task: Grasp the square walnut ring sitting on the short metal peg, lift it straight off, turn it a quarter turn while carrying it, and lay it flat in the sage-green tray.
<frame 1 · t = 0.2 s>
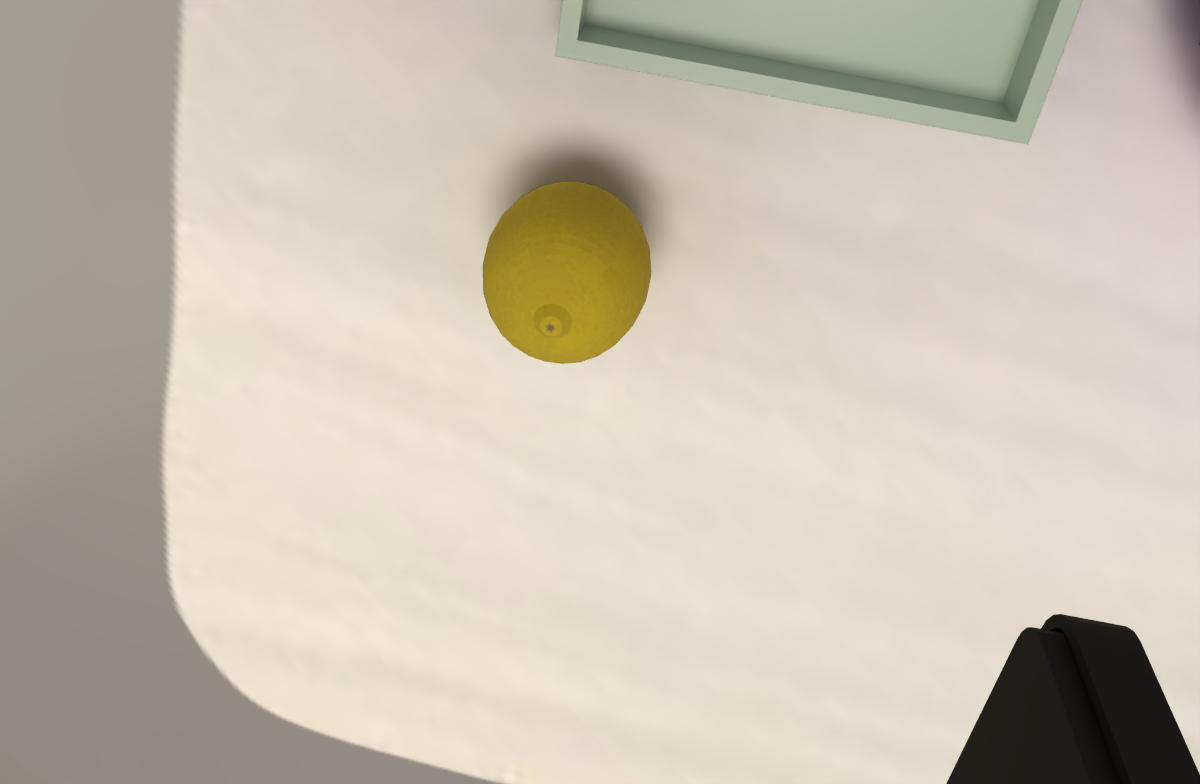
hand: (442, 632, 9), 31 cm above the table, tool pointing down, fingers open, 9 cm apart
lemon: (581, 221, 40), on the table
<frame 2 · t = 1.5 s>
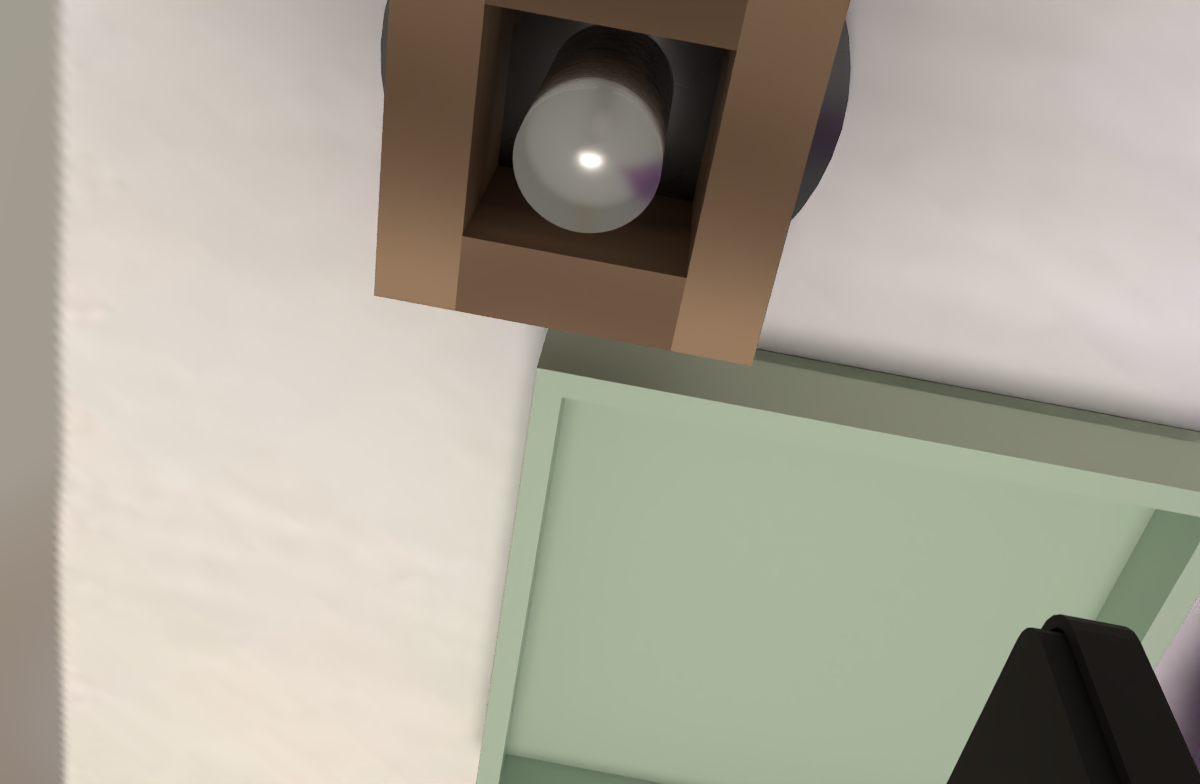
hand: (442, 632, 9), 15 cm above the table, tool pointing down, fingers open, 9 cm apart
tray: (798, 614, 29), on the table
ring: (611, 86, 21), point 1 cm above the table, touching peg on round base
peg on round base: (614, 74, 22), on the table
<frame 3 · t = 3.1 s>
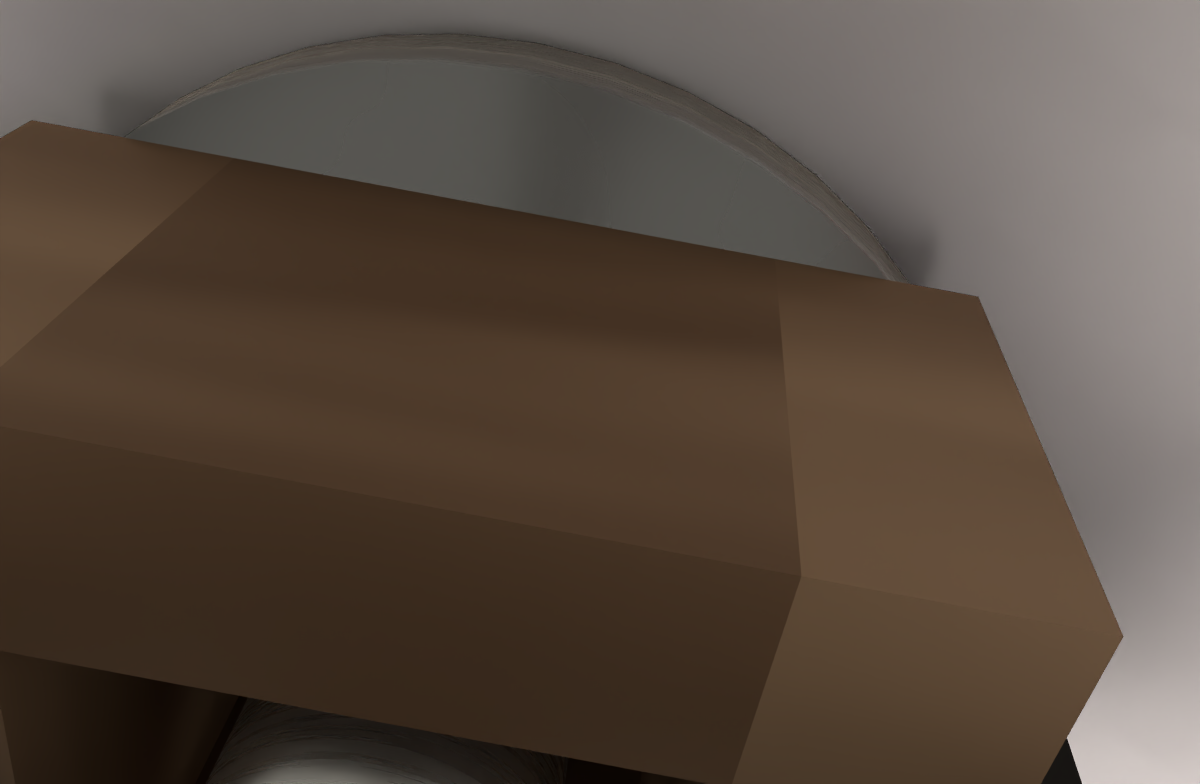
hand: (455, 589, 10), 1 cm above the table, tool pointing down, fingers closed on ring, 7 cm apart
ring: (461, 570, 10), point 1 cm above the table, touching gripper, peg on round base
peg on round base: (478, 515, 11), on the table
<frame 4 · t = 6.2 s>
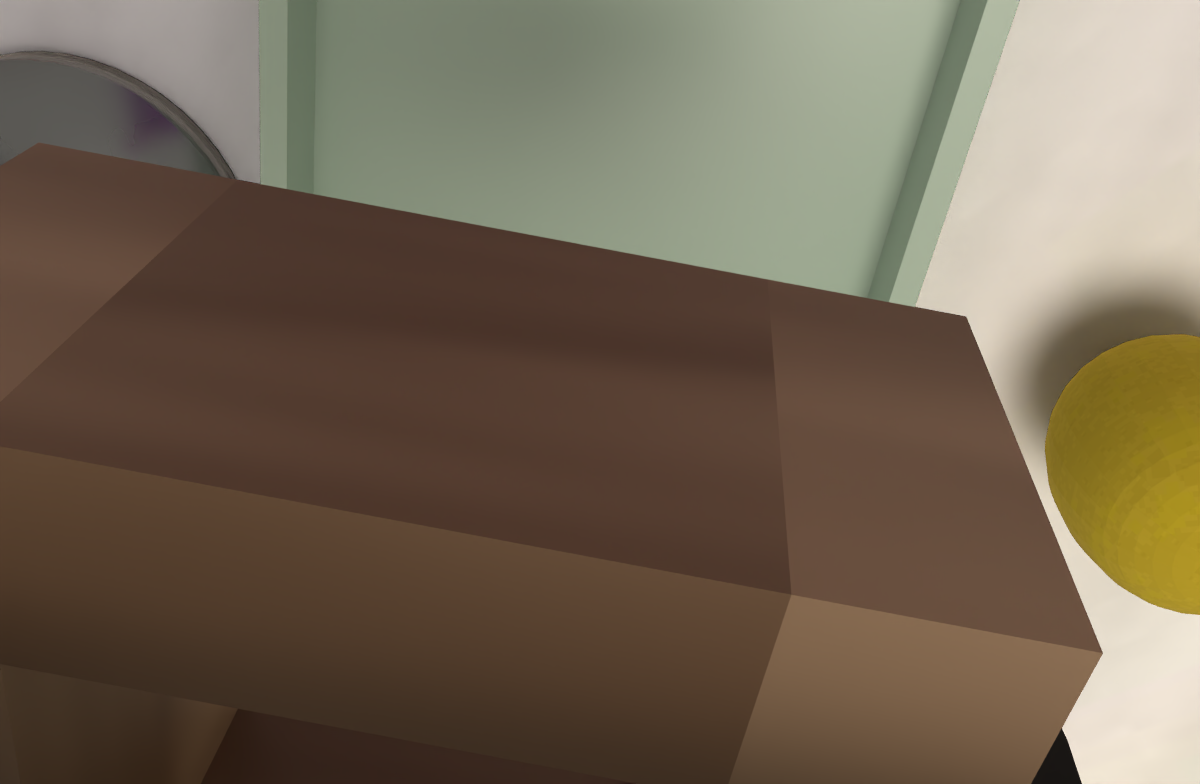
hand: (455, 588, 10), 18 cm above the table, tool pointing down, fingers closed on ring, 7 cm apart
tray: (624, 45, 25), on the table
ring: (459, 582, 10), point 18 cm above the table, touching gripper
peg on round base: (85, 227, 29), on the table
lemon: (1123, 373, 29), on the table
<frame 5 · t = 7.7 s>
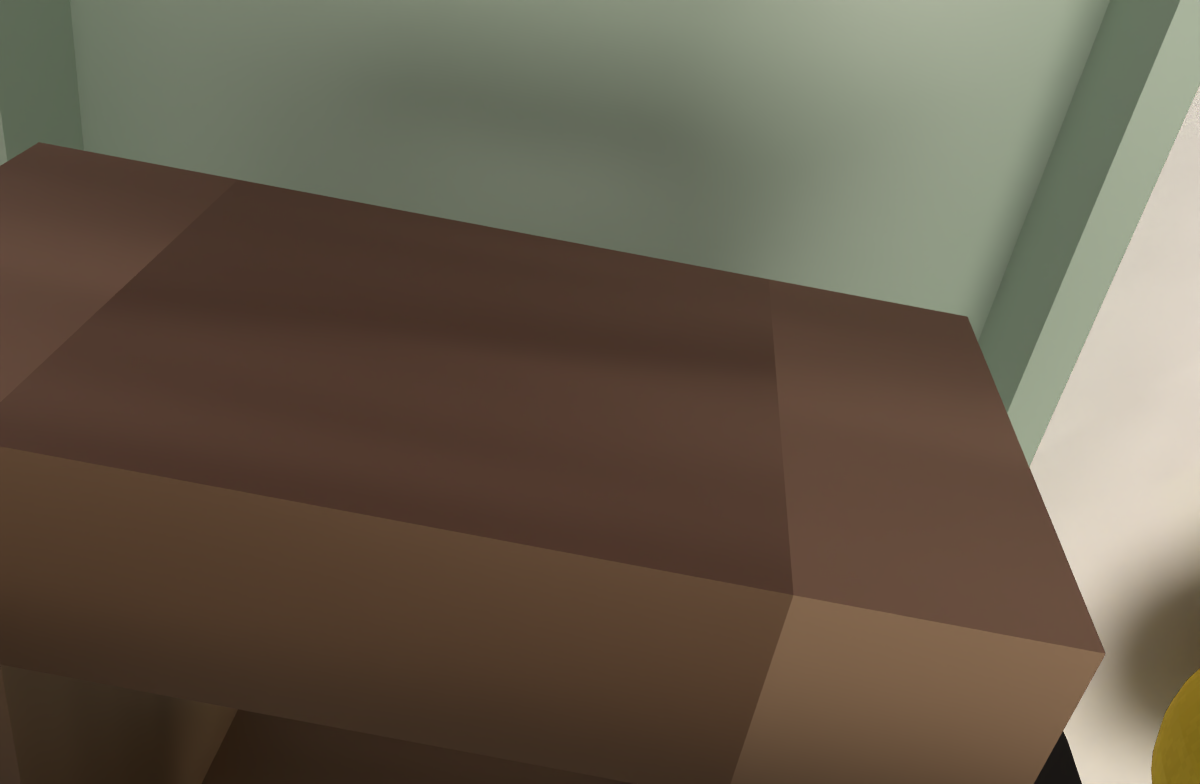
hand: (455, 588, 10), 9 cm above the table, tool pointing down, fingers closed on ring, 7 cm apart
tray: (543, 214, 17), on the table
ring: (459, 582, 10), point 8 cm above the table, touching gripper
when the fingers open (3 cm above the table, at t = 9.2 s): ring drops 2 cm, resting on tray.
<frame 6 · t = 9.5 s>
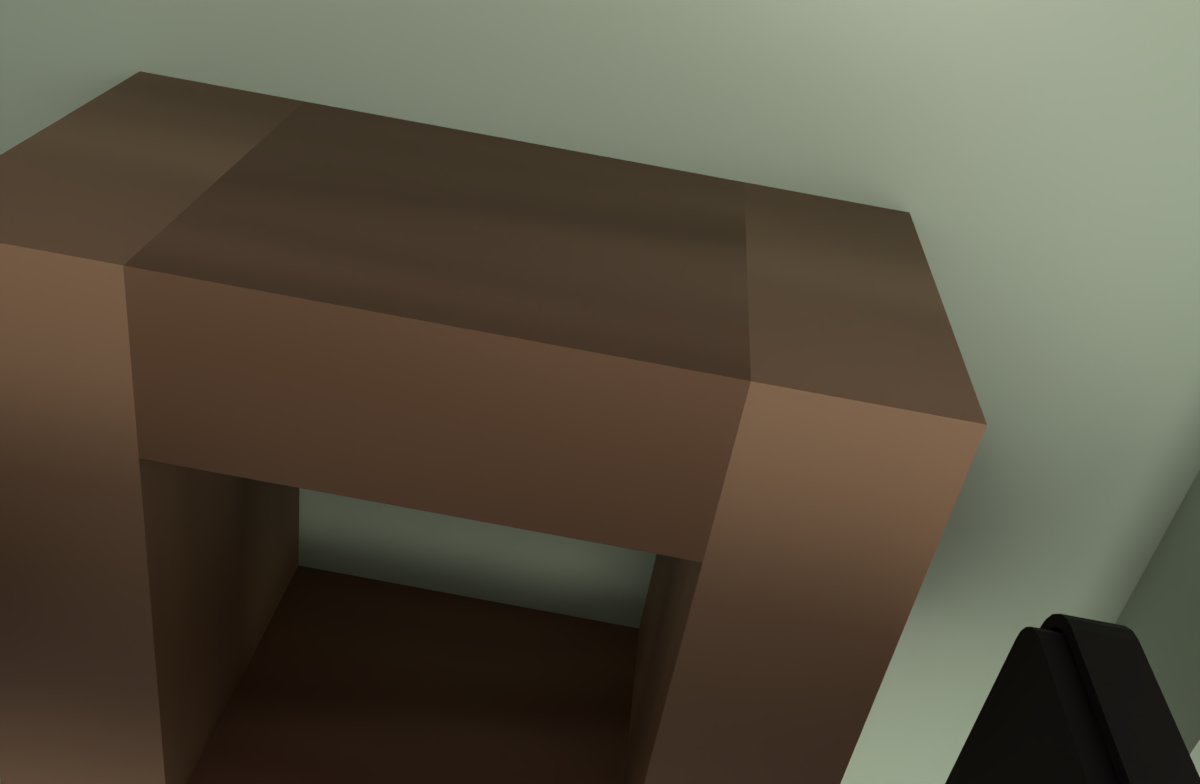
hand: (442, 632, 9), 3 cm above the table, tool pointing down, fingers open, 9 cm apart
tray: (508, 420, 12), on the table
ring: (485, 457, 12), resting on tray
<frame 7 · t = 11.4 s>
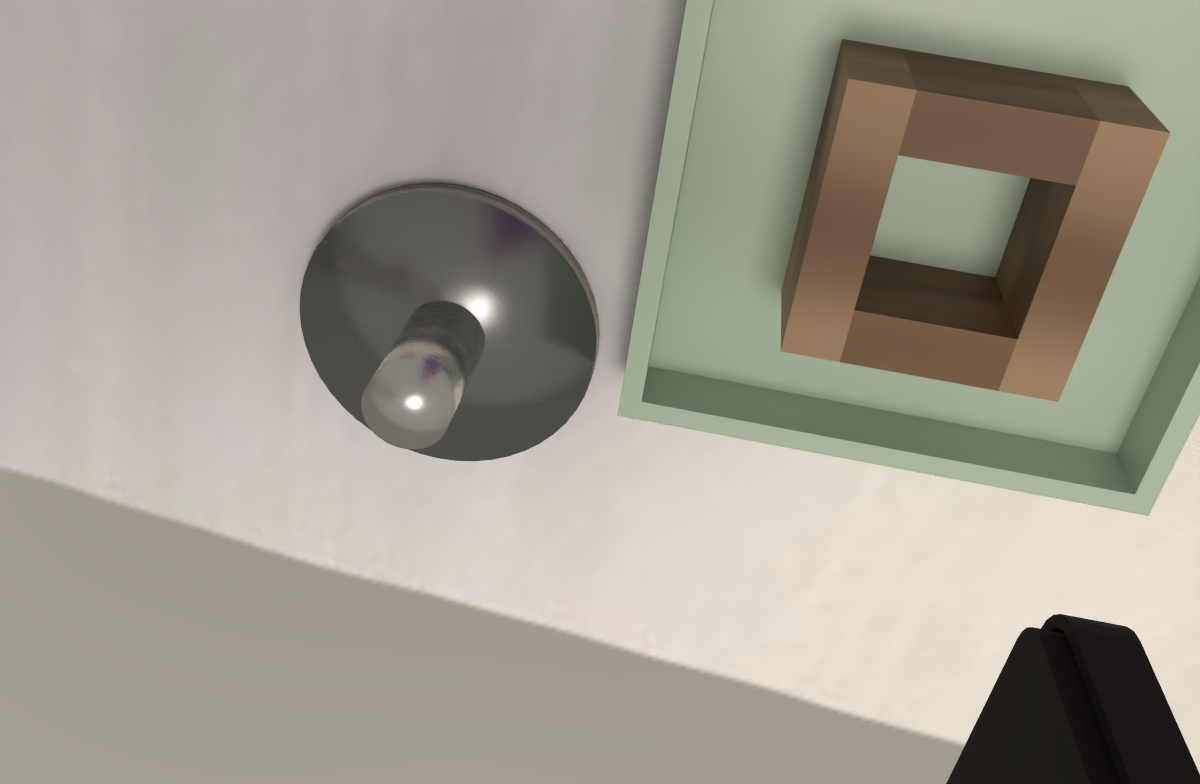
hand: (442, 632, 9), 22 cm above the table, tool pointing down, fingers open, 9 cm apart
tray: (947, 183, 29), on the table
ring: (942, 195, 29), resting on tray
peg on round base: (452, 324, 34), on the table
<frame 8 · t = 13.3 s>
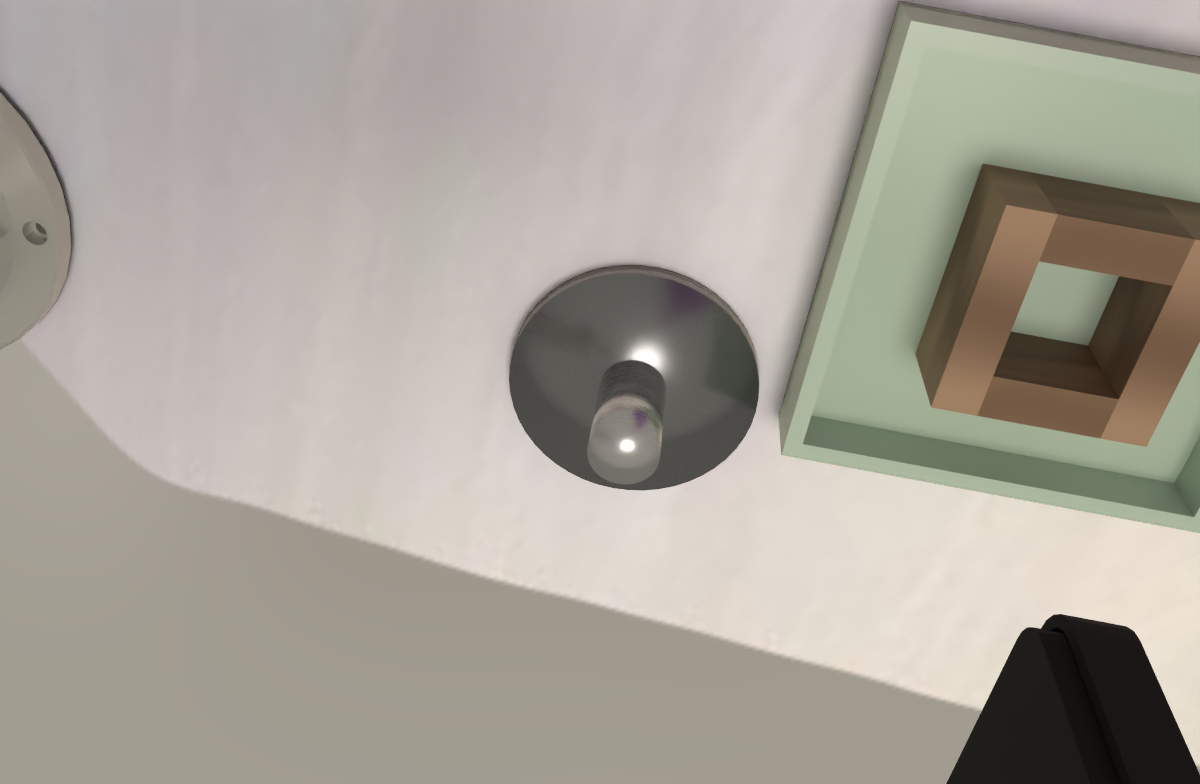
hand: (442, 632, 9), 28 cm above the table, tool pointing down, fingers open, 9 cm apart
tray: (1054, 272, 37), on the table
ring: (1051, 282, 37), resting on tray
peg on round base: (634, 377, 41), on the table
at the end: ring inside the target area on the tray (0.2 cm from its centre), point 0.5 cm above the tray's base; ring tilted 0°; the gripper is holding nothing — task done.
